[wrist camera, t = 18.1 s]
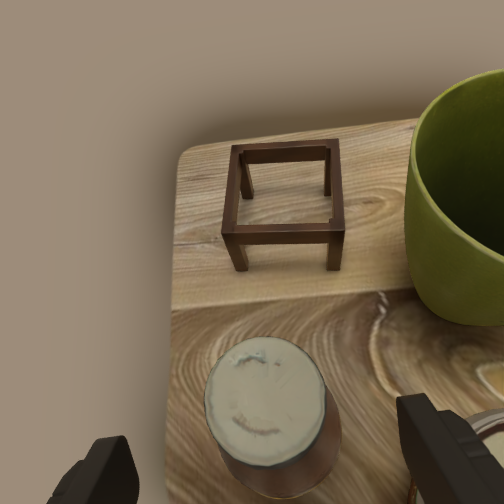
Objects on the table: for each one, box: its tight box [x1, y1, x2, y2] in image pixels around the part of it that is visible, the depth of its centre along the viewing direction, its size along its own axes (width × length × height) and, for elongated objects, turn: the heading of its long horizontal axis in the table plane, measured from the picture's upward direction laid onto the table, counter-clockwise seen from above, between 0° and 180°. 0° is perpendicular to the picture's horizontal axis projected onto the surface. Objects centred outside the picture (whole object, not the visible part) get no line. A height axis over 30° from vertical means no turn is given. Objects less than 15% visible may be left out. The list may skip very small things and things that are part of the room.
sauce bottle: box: [204, 336, 342, 499], centre depth 20 cm, size 6×6×20 cm
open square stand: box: [221, 138, 345, 271], centre depth 35 cm, size 10×10×7 cm
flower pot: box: [404, 69, 504, 326], centre depth 26 cm, size 15×15×16 cm
